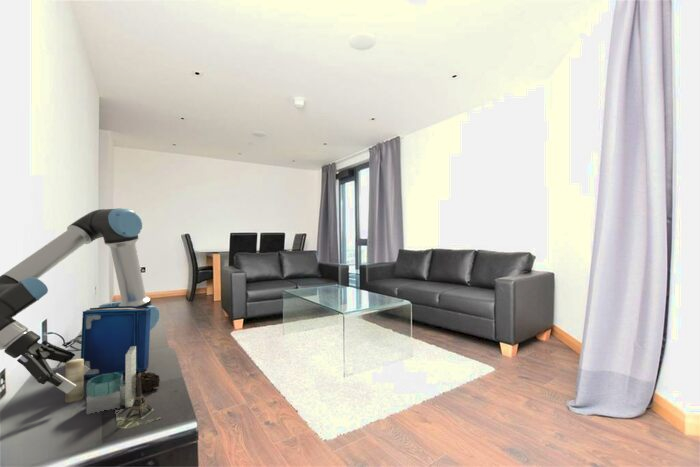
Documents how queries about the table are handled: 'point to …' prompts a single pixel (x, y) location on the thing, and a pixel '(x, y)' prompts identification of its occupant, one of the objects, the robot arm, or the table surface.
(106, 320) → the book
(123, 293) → the robot arm
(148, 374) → the dark brown rounded block
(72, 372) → the beige wooden block
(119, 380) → the bracket
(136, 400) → the eiffel tower figurine
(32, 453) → the table surface
